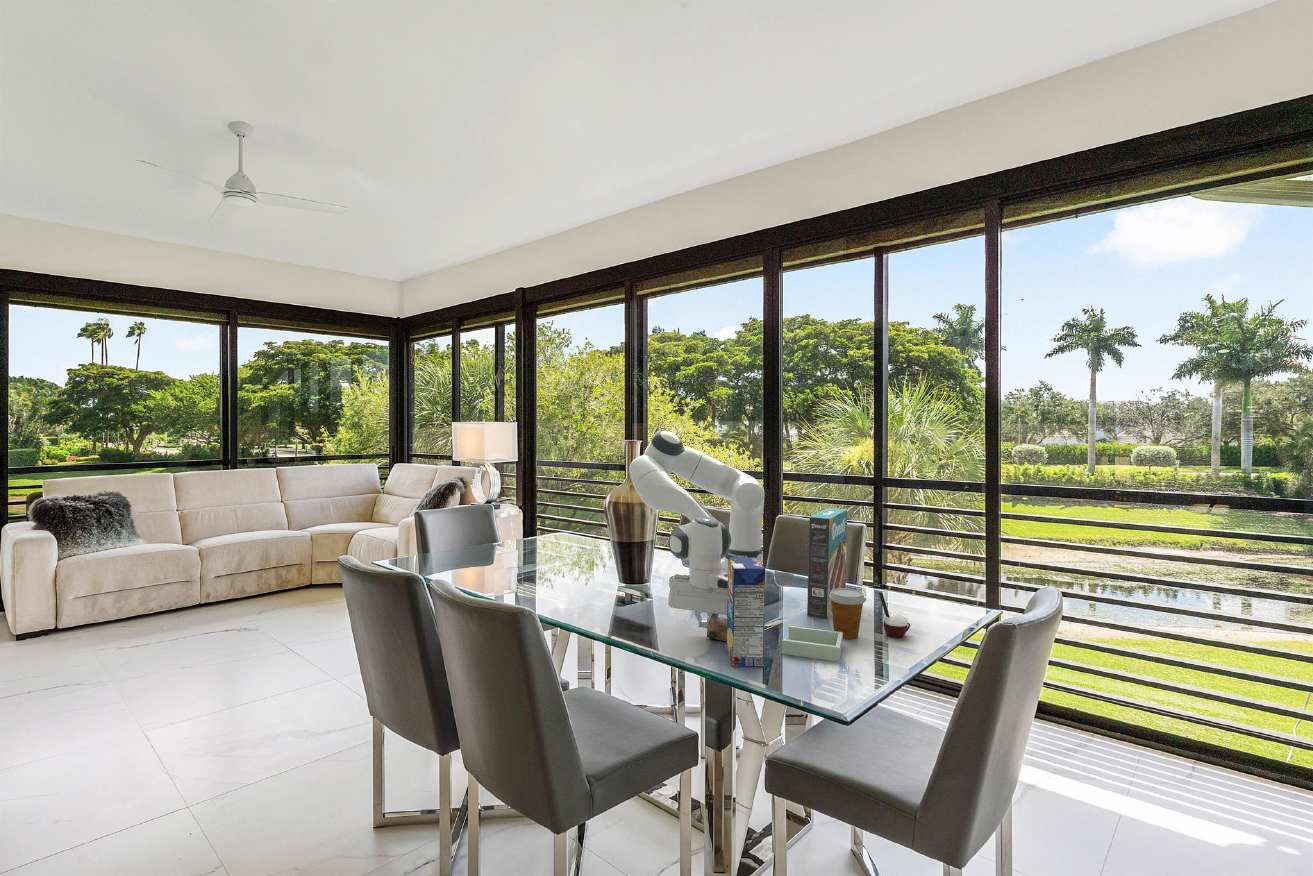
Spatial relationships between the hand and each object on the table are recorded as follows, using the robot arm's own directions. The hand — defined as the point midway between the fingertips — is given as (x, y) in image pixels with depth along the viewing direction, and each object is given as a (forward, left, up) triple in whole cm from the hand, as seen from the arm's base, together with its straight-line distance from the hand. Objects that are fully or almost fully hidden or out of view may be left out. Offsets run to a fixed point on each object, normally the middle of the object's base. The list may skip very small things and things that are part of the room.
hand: (704, 627), depth 179 cm
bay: (+27, +10, -2) cm, 29 cm away
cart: (+5, +2, -2) cm, 6 cm away
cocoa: (+39, +35, -2) cm, 53 cm away
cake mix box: (+14, +46, -2) cm, 48 cm away
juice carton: (+17, -7, -2) cm, 19 cm away
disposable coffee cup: (+29, +26, -2) cm, 39 cm away
